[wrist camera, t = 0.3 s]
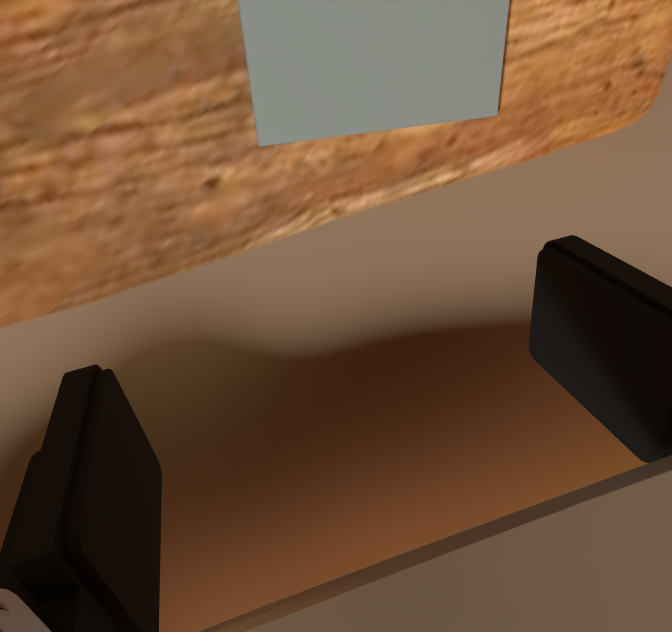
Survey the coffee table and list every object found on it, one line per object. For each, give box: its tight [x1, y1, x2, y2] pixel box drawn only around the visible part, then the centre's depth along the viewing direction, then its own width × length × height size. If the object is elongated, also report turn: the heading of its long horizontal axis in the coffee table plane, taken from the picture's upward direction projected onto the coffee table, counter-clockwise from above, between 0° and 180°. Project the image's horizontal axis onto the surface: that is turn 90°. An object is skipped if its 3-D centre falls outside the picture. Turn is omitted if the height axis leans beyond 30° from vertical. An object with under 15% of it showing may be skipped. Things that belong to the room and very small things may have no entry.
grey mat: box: [238, 0, 509, 146], centre depth 36 cm, size 13×20×1 cm, turn 93°
